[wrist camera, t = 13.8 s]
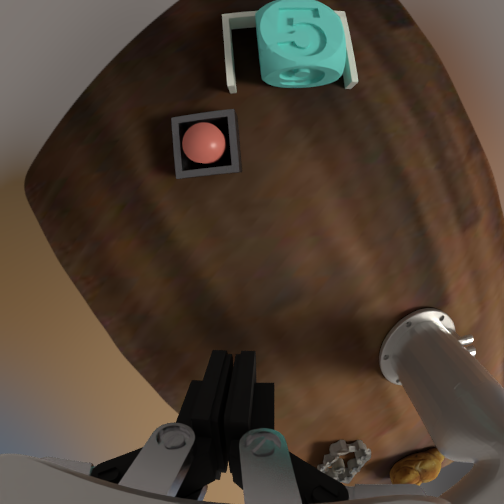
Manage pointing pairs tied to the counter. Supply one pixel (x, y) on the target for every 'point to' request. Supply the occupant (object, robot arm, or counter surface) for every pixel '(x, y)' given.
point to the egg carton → (337, 463)
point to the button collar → (213, 118)
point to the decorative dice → (300, 43)
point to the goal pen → (249, 21)
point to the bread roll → (417, 468)
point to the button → (204, 143)
